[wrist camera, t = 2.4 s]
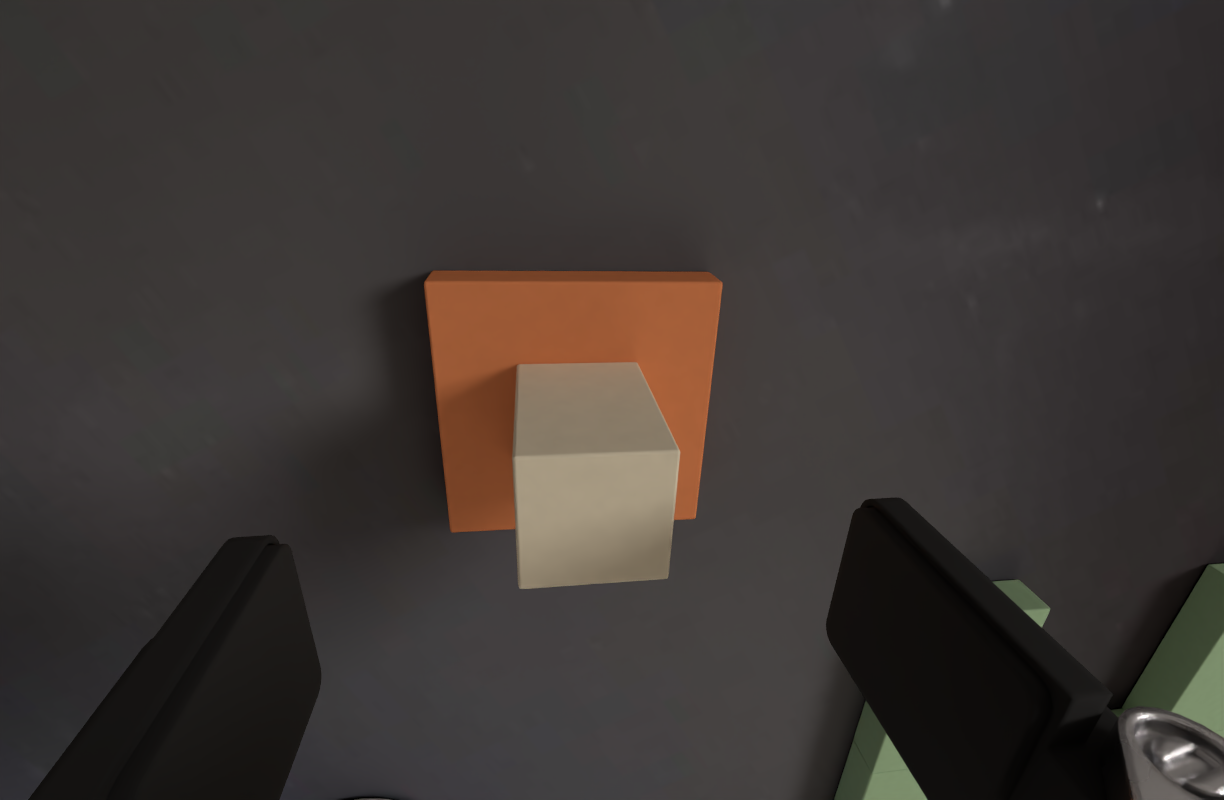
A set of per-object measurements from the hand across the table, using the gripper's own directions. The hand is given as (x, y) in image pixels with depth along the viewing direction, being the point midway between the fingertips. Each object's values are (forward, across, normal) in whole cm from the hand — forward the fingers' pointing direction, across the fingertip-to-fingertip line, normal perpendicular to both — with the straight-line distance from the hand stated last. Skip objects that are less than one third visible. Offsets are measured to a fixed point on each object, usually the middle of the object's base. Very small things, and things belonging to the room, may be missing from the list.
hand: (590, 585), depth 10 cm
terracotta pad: (+7, 0, 0) cm, 7 cm away
